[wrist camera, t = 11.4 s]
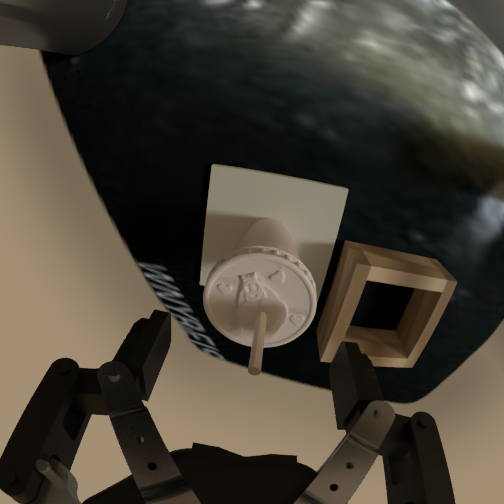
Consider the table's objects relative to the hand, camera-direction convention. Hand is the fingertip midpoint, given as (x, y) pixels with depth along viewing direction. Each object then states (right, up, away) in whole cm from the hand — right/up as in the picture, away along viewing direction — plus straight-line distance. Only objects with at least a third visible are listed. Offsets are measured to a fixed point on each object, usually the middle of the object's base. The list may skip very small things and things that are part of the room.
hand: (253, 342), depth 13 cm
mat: (+1, +5, +12) cm, 13 cm away
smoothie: (+1, +5, +12) cm, 13 cm away
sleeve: (+12, 0, +14) cm, 18 cm away
